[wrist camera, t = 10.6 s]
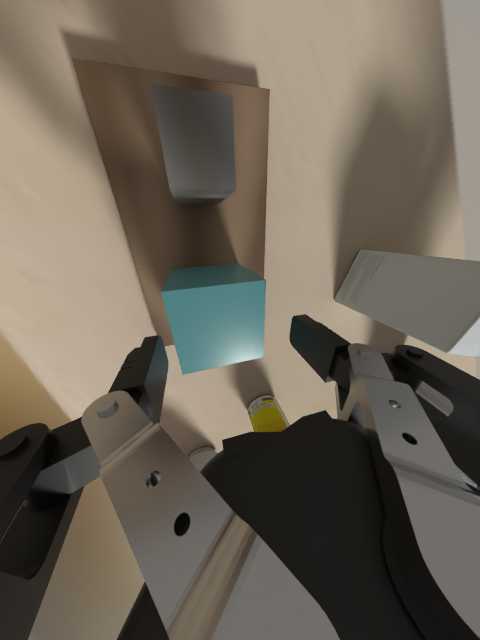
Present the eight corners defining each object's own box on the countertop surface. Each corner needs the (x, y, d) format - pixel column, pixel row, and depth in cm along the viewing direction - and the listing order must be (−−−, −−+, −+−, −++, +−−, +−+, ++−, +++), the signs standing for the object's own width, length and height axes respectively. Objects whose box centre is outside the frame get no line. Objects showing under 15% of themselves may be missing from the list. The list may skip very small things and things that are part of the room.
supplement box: (331, 300, 25) (445, 355, 14) (359, 247, 22) (529, 261, 11) (365, 309, 27) (483, 360, 16) (394, 262, 24) (558, 286, 14)
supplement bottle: (240, 409, 30) (262, 482, 21) (264, 389, 29) (297, 456, 20) (259, 418, 33) (285, 486, 24) (281, 400, 32) (316, 464, 23)
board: (261, 102, 14) (321, -1, 8) (257, 323, 23) (283, 356, 17) (85, 78, 11) (-41, -111, 5) (162, 339, 20) (152, 385, 14)
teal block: (238, 263, 17) (265, 279, 11) (240, 319, 20) (263, 357, 14) (170, 269, 16) (160, 292, 10) (184, 328, 19) (182, 374, 13)
